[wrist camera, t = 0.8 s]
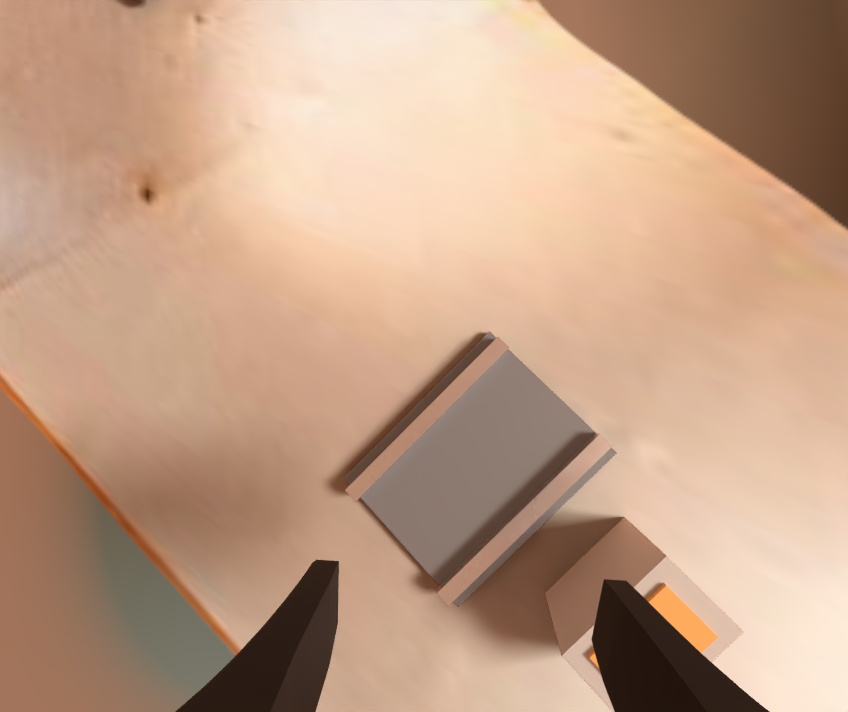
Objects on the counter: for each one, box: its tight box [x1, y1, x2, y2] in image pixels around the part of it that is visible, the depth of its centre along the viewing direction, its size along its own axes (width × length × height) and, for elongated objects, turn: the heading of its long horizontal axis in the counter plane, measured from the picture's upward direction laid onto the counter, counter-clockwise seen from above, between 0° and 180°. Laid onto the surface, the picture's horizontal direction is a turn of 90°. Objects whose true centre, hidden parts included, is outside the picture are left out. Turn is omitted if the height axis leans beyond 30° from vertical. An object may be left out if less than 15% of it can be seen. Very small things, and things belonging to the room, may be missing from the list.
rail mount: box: [344, 331, 616, 607], centre depth 29 cm, size 11×14×2 cm
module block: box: [545, 517, 744, 712], centre depth 24 cm, size 4×7×7 cm, turn 135°
